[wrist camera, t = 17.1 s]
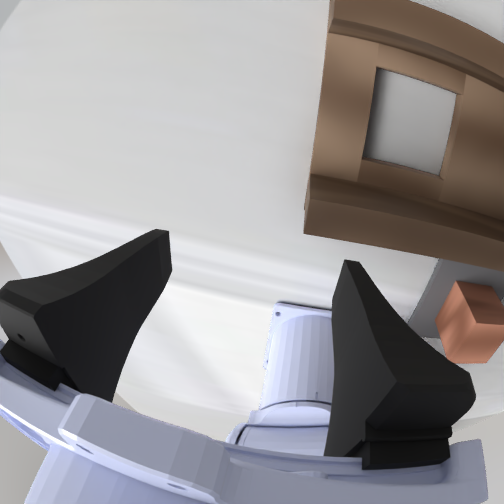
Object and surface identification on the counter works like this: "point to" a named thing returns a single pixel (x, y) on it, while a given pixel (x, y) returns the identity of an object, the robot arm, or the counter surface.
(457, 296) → the block
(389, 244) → the brown tray
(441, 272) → the mat
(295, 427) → the robot arm
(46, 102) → the counter surface
